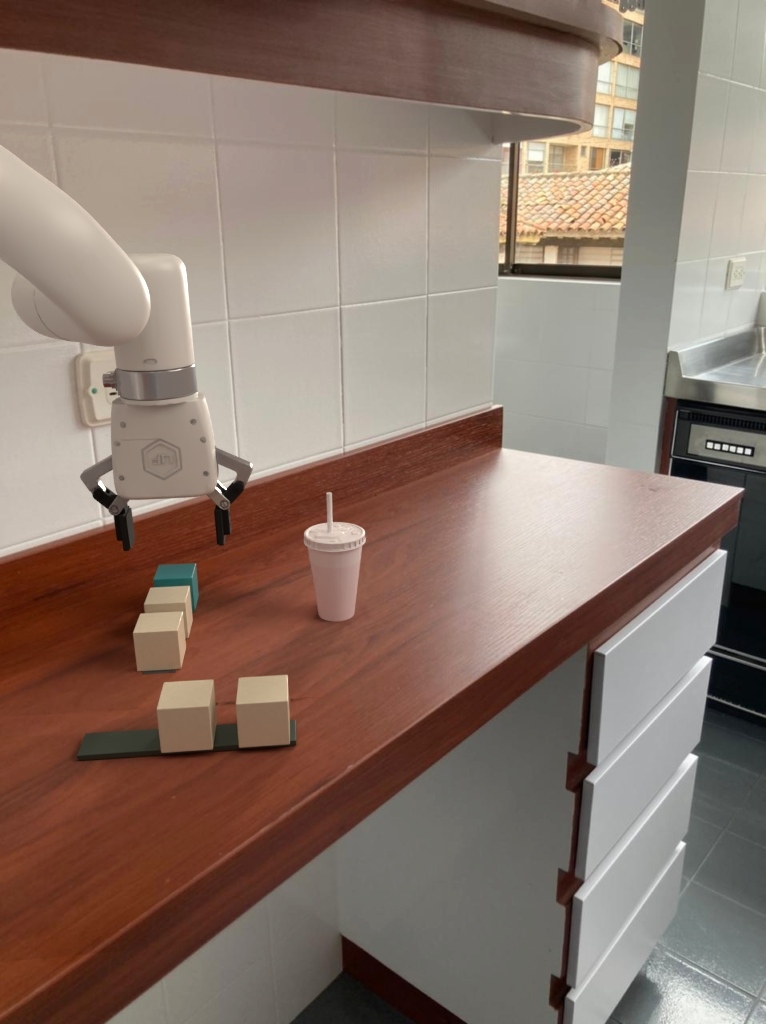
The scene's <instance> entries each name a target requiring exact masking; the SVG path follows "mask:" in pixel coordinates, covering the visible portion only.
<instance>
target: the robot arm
mask: <svg viewBox="0 0 766 1024" xmlns="http://www.w3.org/2000/svg"><path fill="white" fill-rule="evenodd" d="M0 260H1V261H2V262H4V263H5V264H6V265H8V266H9V267H10V268H12V269H13V270H14V271H15V272H17V273H16V274H15V276H14V278H13V280H12V284H11V287H10V288H11V289H10V298H11V302H12V303H11V304H12V306H13V309H14V311H15V313H16V315H17V316H18V317H19V319H20V320H21V321H22V322H23V323H24V325H26V326H27V327H28V328H30V329H31V330H32V331H34V332H36V333H37V334H39V335H42V336H44V337H48V338H51V339H55V340H60V341H66V342H72V343H82V344H87V345H91V346H96V347H103V348H113V351H114V357H115V358H114V360H115V367H116V368H115V369H114V371H113V372H110V373H103V374H102V377H101V378H102V386H103V388H111V389H112V390H113V389H114V390H115V392H117V396H118V397H116V398H114V400H112V401H111V410H110V411H111V412H110V448H111V454H110V455H108V456H107V457H105V458H103V459H102V460H100V461H98V462H96V463H94V464H92V465H90V466H89V467H87V468H86V469H84V470H83V471H82V472H81V474H80V475H79V479H80V480H81V482H82V483H83V485H84V486H85V488H86V489H87V490H88V491H89V492H90V493H91V495H92V498H93V500H95V501H96V502H97V503H98V504H100V505H102V506H103V507H104V508H105V509H107V511H108V513H109V514H110V515H112V516H113V522H114V530H115V537H116V541H118V542H122V544H121V545H122V550H123V552H130V550H132V549H133V546H134V544H135V542H136V534H135V524H134V519H133V518H134V517H133V510H132V507H131V506H130V505H128V503H129V502H130V501H143V500H144V501H146V500H147V501H148V500H165V499H166V500H169V499H185V498H199V497H204V496H207V497H208V499H210V500H211V501H212V502H213V503H214V504H215V507H214V511H213V515H214V525H215V536H216V538H215V539H216V545H218V546H219V547H223V546H225V543H226V537H227V536H231V535H232V522H231V521H232V520H231V510H230V508H231V505H232V504H233V503H234V502H235V501H236V500H237V499H238V498H239V497H240V495H241V494H242V493H243V492H244V490H245V488H246V486H247V483H248V481H249V479H250V477H251V475H252V473H253V469H254V465H253V463H252V462H251V461H248V460H247V459H244V458H241V457H239V456H237V455H234V454H233V453H230V452H227V451H225V450H223V449H221V448H218V447H217V445H216V438H215V432H214V427H213V421H212V417H211V413H210V409H209V405H208V403H207V402H208V401H207V399H206V395H205V394H204V393H202V392H199V391H198V380H197V379H198V378H197V370H196V360H195V349H194V339H193V328H192V318H191V306H190V305H191V304H190V296H189V295H190V294H189V284H188V276H187V275H188V274H187V269H186V268H187V267H186V265H185V263H184V261H183V260H182V259H181V257H178V256H177V255H175V254H173V253H166V252H141V253H139V252H138V253H126V252H125V250H124V249H123V248H121V246H120V245H119V243H117V242H116V240H114V239H113V237H111V235H110V234H109V233H108V231H106V230H105V229H104V227H103V226H101V224H100V223H99V222H98V221H97V220H96V219H95V218H94V217H93V216H92V215H91V214H90V213H89V212H88V211H87V210H86V209H85V208H84V207H83V206H81V205H80V204H79V203H78V202H77V201H76V200H75V199H74V198H72V197H71V196H70V195H69V194H68V193H66V192H65V191H63V190H62V189H61V188H60V187H58V186H57V185H56V184H54V183H53V182H52V181H50V180H49V179H47V178H46V177H45V176H44V175H42V174H41V173H39V172H38V171H36V170H35V168H32V166H30V165H28V164H27V163H26V162H24V161H23V160H22V159H21V158H19V157H18V156H17V155H15V154H14V153H12V152H11V151H10V150H9V149H8V148H6V147H4V146H3V145H2V144H0ZM219 466H221V467H224V468H226V469H229V470H231V471H234V472H235V473H236V475H235V478H234V480H233V481H232V482H231V483H230V484H229V485H228V487H225V486H224V485H223V484H222V483H221V482H220V481H219V479H218V478H219V475H220V474H219V470H220V469H219ZM111 471H112V476H113V485H114V490H115V492H114V491H112V490H111V489H110V488H109V487H107V486H106V485H105V484H103V482H102V480H101V477H103V476H104V475H106V474H108V473H109V472H111Z"/></svg>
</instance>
